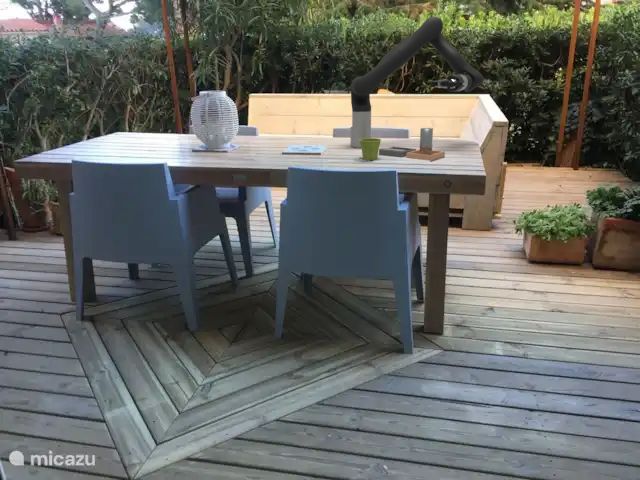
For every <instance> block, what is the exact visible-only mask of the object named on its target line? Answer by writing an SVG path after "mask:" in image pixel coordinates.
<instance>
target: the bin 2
mask: <svg viewBox="0 0 640 480" xmlns="http://www.w3.org/2000/svg"><path fill="white" fill-rule="evenodd" d="M445 152H446V151H443V150H433V149H432V155H425V154H420V148H419V149H416V150H415V151H412V152H408V153H406V156H405V158H407V159H416V160H424V161H430V162H431V163H432V162H435V161H438V160H441V159H443V158H445V155H446V153H445Z"/></svg>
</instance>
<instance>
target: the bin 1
mask: <svg viewBox="0 0 640 480" xmlns="http://www.w3.org/2000/svg"><path fill="white" fill-rule="evenodd" d="M415 150H417V148H412V147H411V148H410V147H401V146H389V147H382V148H381V147H379V150H378V156H388V157H397V158H404V157H405V158H406V153H408V152H412V151H415Z"/></svg>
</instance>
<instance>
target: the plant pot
mask: <svg viewBox="0 0 640 480" xmlns="http://www.w3.org/2000/svg"><path fill="white" fill-rule="evenodd" d="M359 141H360V144H361V148H360V149H361V154H362V160H363V161H367V162H372V161H374V160H377V159H378V157H379V149H380V144H381V142H382V139H381V138H378V137H376V138H375V137H371V138H364V139H360V140H359Z"/></svg>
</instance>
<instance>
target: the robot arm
mask: <svg viewBox="0 0 640 480" xmlns="http://www.w3.org/2000/svg"><path fill="white" fill-rule="evenodd" d="M443 28H444V23H443V20H442V19H441V18H440V17H437V16H431V17H428V18H427V19H426V20H424V22H423V23H422V24H421V25H420V26H419V27H418V29H416V30H415V31H414V32H413V33H412V34H411V35H409V36H408V37H406V38H405V39H403V40H401V41H400V42H399V43H397V44H396V45H395V46H394V47H393V48H391V49H389V51H388V52H386V53H385V55H384V56H383V57H382V58H381V59H380V61H379V62H378V63H377V64H376V65H375V66H374V67H373V68H372V69H370V70H369V71H368V72H367V73H365V74H364V75H362V76H357V77H355V78H354V79H353V80H352V82H351V85H350V102H351V110H352V112H351V117H352V119H351V120H352V121H351V125H352V126H351V127H350V147H353V148H359V149H362V148H361V144H360V141H359V140H360V139H364V138H372V104H371V97H370V96H371V95H370V94H372V93H373V91H374V90H375V89H376V88H377V87H378V86H379V85H381V84H382V83H383V81H385V80H386V79H387V78H388V77H390V76H391V75H393V74H394V73H395V72H396V71H398V70H400V69H401V68H402V67H403V66H404V65H406V63H408V62H409V61H410V60H411V59H412V58H413V57H414V56H415V55H416V54H417V52H419V50H420V49H421V48H422V47H424V46H425V45H426V44H427V43H429V44H431V45H432V46H433V47H434V49H435V50H436V51H438V53H439V54H440V55H441V56H442V57H443V59H444V60H445V62H446V63H447V64H448V65H449V68H451V70H452V71H453V72H454V73H455V74H450V75H447V77H446V78H445V79H437V80H431V81H430V84H429V86H430V88H438V89H446V90H447V91H448V92H450V93H454V92H461V91H463V92H466V93H469V92H472V91H473V90H474V89H475V88H478V86H480V85H481V84H482V83H483V81H484V76H483V75H482V73H481V72H480V71H478V70H477V69H476V68H474V67H473V66H471V64H469V63H468V61H467V60H466V59H465V58H464V56H463V55H462V53H460V52H459V50H458V49H456V48H455V47H454V46H453V45H451V43H449V42H448V41H447V39H446V38H445V36H444V35H443V33H442V32H443V30H444V29H443ZM464 73H465V74H464Z"/></svg>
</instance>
